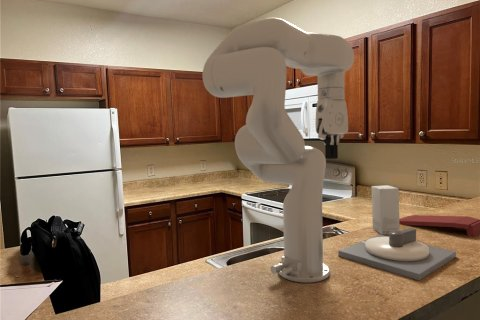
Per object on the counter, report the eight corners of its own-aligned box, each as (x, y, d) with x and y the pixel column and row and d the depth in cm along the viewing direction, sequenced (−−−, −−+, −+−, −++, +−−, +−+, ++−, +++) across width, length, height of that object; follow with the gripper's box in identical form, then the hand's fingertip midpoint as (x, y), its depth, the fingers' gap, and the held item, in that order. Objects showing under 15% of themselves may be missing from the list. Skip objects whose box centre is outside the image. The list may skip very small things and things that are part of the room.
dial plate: (419, 280, 79) (419, 273, 79) (338, 255, 96) (338, 249, 96) (455, 256, 93) (455, 250, 93) (379, 238, 110) (379, 233, 110)
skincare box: (400, 234, 114) (400, 188, 112) (380, 235, 114) (380, 189, 113) (389, 227, 122) (389, 184, 121) (370, 228, 122) (370, 185, 121)
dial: (405, 265, 84) (405, 246, 83) (353, 248, 97) (353, 231, 97) (441, 252, 92) (441, 235, 91) (388, 237, 105) (388, 222, 105)
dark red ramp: (396, 233, 128) (472, 238, 108) (394, 220, 128) (469, 223, 108) (413, 227, 135) (486, 231, 115) (411, 215, 135) (484, 216, 115)
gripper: (325, 92, 92) (326, 160, 93) (357, 95, 101) (357, 157, 102) (303, 95, 97) (304, 159, 99) (335, 97, 107) (336, 156, 108)
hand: (331, 158), depth 101 cm, fingers closed
